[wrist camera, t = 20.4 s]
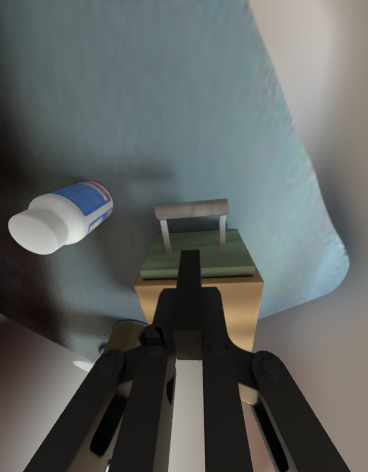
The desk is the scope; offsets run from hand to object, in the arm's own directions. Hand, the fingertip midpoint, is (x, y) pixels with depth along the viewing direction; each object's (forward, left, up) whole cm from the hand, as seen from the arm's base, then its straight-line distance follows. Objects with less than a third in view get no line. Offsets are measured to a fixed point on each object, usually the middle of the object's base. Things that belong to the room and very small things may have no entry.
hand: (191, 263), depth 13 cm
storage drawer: (+6, 0, -9) cm, 11 cm away
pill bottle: (-4, -13, -10) cm, 17 cm away
